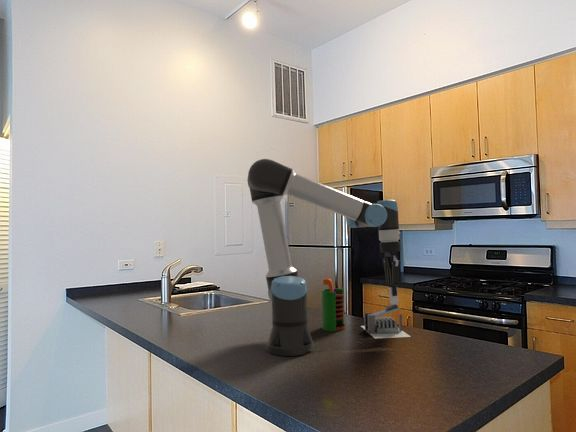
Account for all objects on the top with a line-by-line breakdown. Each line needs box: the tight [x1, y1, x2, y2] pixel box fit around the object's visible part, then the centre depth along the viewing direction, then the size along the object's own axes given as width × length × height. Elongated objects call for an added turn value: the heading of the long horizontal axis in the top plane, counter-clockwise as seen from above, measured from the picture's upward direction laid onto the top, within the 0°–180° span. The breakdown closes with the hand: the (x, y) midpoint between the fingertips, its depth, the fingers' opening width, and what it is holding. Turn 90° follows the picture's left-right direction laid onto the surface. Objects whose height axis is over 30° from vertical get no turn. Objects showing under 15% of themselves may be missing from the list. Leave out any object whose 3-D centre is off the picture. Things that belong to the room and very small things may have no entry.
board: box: [360, 325, 412, 339], centre depth 153 cm, size 19×13×1 cm
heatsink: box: [375, 315, 399, 334], centre depth 153 cm, size 8×8×4 cm
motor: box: [321, 278, 346, 333], centre depth 159 cm, size 10×9×20 cm
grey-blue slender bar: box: [366, 304, 400, 318], centre depth 153 cm, size 3×12×2 cm, turn 95°
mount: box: [363, 312, 403, 335], centre depth 153 cm, size 5×13×6 cm, turn 95°
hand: (394, 304), depth 153 cm, fingers closed
